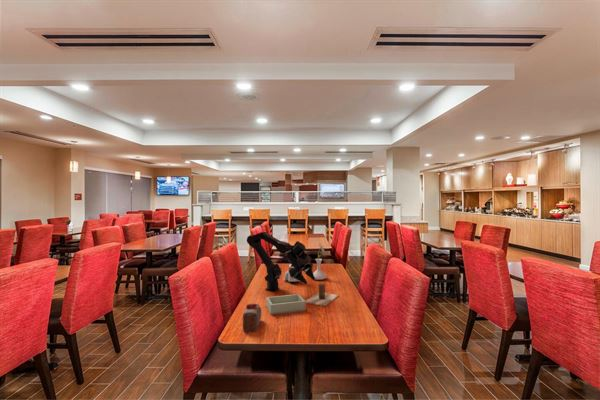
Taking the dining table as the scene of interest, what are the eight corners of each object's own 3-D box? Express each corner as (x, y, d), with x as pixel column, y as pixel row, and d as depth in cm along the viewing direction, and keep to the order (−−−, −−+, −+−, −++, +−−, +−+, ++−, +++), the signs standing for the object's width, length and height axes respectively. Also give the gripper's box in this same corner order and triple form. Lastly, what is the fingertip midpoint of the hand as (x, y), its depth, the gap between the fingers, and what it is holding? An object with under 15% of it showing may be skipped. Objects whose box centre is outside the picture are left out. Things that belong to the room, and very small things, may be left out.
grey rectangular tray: (266, 306, 164) (266, 297, 164) (298, 303, 169) (298, 294, 169) (270, 315, 153) (270, 305, 153) (305, 310, 158) (305, 301, 158)
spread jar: (299, 284, 205) (299, 266, 205) (282, 284, 205) (282, 266, 205) (300, 279, 217) (299, 262, 217) (283, 279, 217) (283, 262, 217)
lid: (304, 303, 171) (304, 287, 171) (319, 293, 187) (319, 279, 187) (325, 307, 164) (324, 290, 164) (338, 297, 181) (338, 282, 180)
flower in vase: (326, 281, 211) (325, 245, 211) (309, 280, 214) (309, 244, 213) (328, 276, 224) (327, 242, 224) (312, 275, 227) (312, 241, 226)
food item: (245, 319, 148) (244, 299, 147) (261, 319, 148) (261, 298, 148) (241, 332, 134) (241, 309, 134) (260, 331, 134) (259, 309, 134)
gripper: (294, 254, 174) (311, 276, 168) (310, 249, 190) (326, 269, 184) (282, 266, 178) (299, 288, 172) (299, 260, 194) (315, 280, 188)
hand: (310, 281), depth 179 cm, fingers open, 9 cm apart
